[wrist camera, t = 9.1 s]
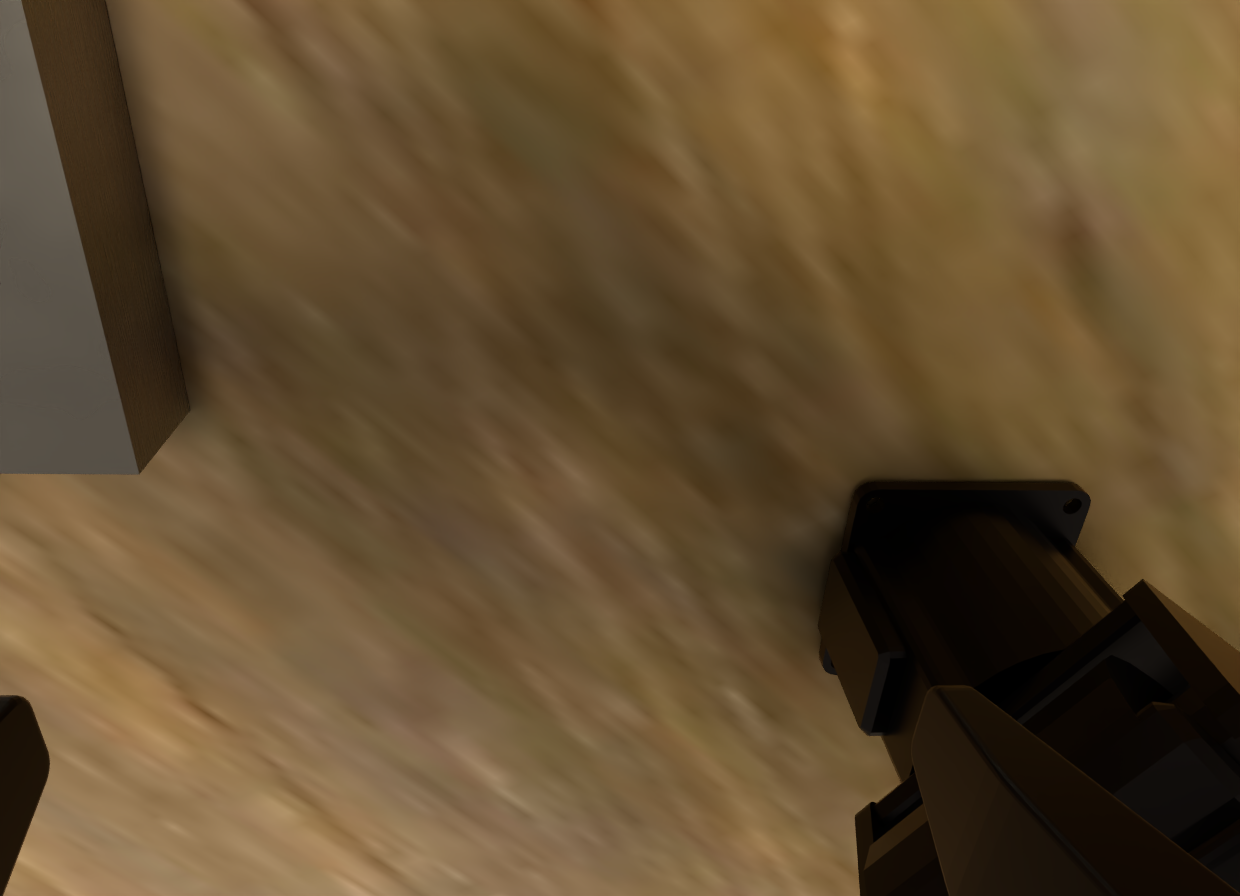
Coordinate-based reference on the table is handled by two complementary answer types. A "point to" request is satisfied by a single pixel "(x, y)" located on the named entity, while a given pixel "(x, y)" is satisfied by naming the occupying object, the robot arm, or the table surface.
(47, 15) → the block
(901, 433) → the table surface
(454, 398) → the table surface
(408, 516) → the table surface
